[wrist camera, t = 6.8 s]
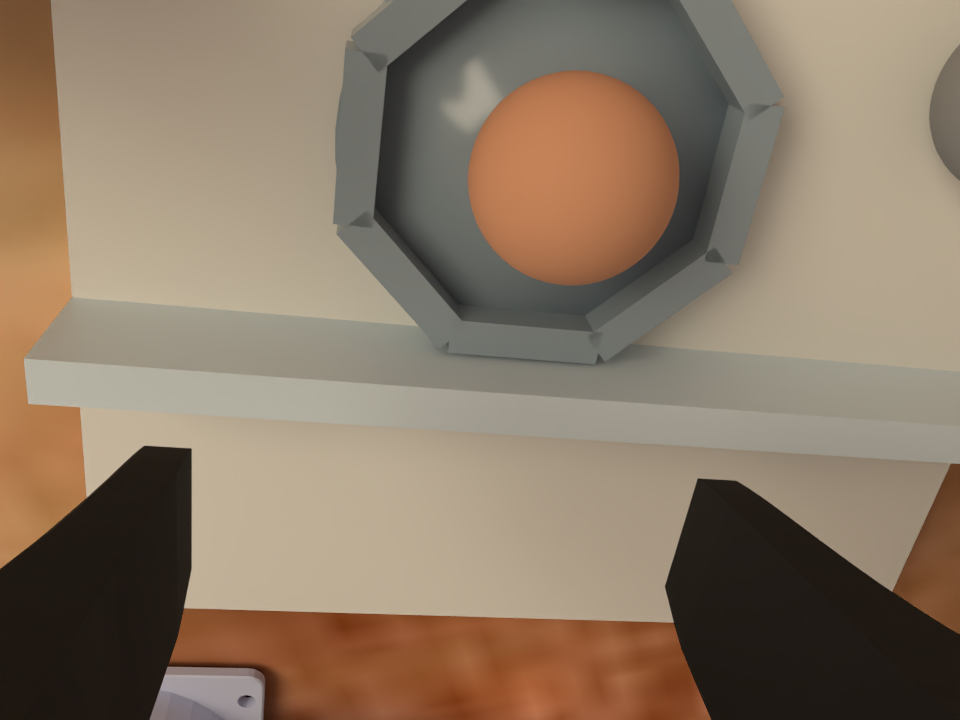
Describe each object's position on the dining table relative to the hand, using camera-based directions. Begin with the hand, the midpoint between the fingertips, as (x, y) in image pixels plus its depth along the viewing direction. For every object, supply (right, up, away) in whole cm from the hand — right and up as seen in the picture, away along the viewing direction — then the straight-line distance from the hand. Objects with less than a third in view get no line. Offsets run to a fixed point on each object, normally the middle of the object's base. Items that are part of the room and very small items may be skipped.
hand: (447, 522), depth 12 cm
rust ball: (+2, +6, +4) cm, 7 cm away
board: (+3, +3, +10) cm, 10 cm away
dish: (+2, +7, +6) cm, 10 cm away
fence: (+3, +3, +10) cm, 11 cm away
